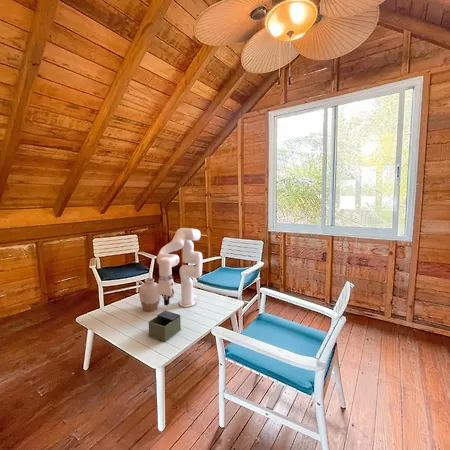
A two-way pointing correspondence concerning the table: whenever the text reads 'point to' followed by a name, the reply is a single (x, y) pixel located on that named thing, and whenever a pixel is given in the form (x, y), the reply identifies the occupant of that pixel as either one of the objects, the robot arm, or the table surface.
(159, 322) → the olive green hollow box
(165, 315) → the flap
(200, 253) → the robot arm
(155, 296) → the vase
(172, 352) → the table surface
